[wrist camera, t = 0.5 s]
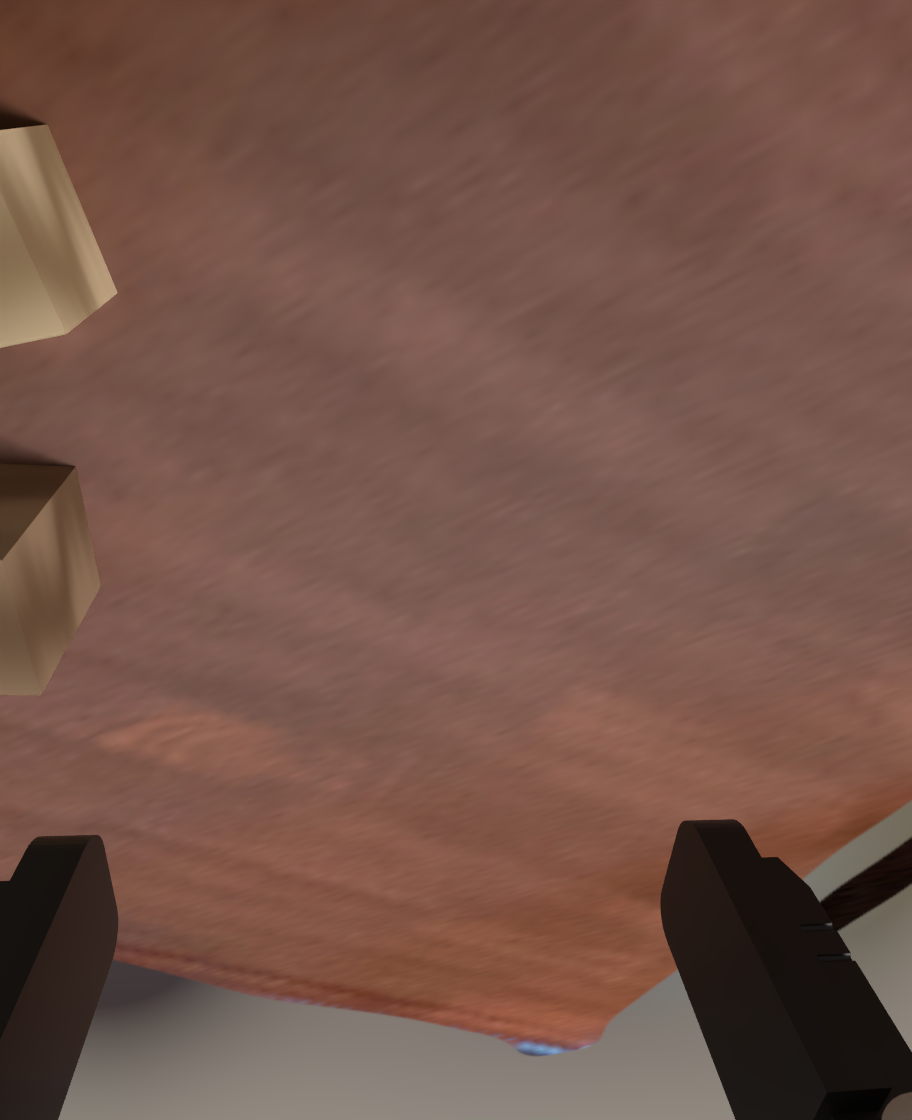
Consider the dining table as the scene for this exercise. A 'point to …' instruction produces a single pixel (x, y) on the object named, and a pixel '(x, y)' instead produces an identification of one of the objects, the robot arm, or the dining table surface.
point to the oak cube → (44, 243)
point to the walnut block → (41, 572)
